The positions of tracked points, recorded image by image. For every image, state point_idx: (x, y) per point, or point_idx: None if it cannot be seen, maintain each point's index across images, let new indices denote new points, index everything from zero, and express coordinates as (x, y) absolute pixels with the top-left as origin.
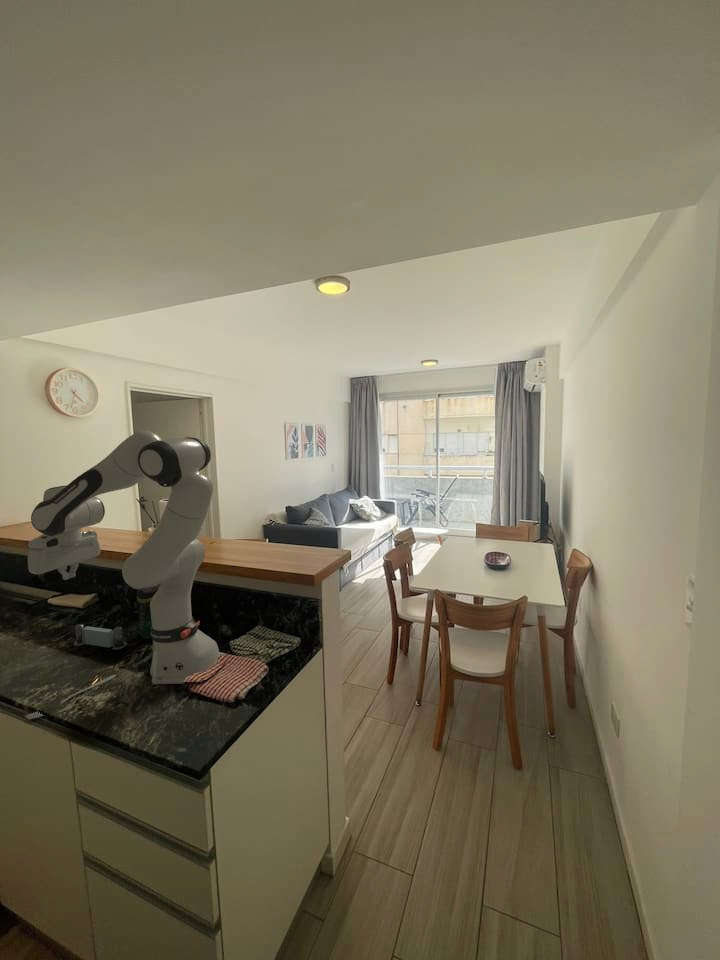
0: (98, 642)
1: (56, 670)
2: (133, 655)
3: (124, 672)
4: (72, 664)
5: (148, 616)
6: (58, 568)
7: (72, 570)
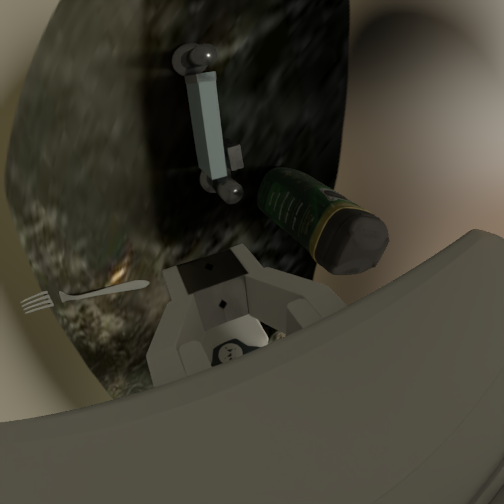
0: (196, 133)
1: (85, 158)
2: (202, 242)
3: (160, 287)
4: (116, 161)
5: (290, 234)
6: (157, 384)
7: (259, 308)
